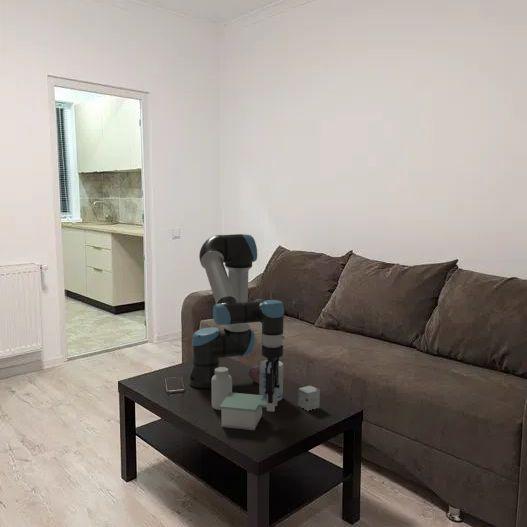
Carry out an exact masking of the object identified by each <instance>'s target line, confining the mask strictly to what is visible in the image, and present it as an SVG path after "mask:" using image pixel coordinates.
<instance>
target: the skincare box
mask: <svg viewBox="0 0 527 527" xmlns="http://www.w3.org/2000/svg"><path fill="white" fill-rule="evenodd" d="M320 395H321V390H320V389H319V388H317V387H315V386H312V385H307V386H303V387H299V388H298V401H297V402H298V403H297V406H298V407H299V406H300V407H299V408H301V409H303V408H304V409H303V410H304V411H306V410H307V411H306V412H310V411H309V410H311V411H312V409H314V410H317V409H320V402H321V401H320V399H321V396H320ZM316 408H317V409H316Z"/></svg>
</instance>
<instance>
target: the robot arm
mask: <svg viewBox="0 0 527 527" xmlns="http://www.w3.org/2000/svg"><path fill="white" fill-rule="evenodd" d="M198 254H199V257H198V258H199V262H200V265H201V267H202V268H203V269H204V271H205V272H206V276H207V280H208V282H209V285H210V289H211V292H212V295H213V299H214V301H215V304H214V305H213V308H212V316H213V318H212V319H213V321H214V323H215V325H218V326H223V330H220V329H219V328H218V327H215V326H213V327H211V326H210V327H209V326H208V327H204V328H200V329H197V330H196V331H194V333H193V334H192V341H191V344H192V367H191V370H190V374H189V377H188V385H190V386H191V387H194V388H199V389H212V384H211V380H212V377H213V376H214V375H215V369H216V368H218V367H221V364H220V362H221V360H220V359H223V358H224V359H225V358H234V357H235V358H236V357H244V356H249V355H251V354H252V352H253V350H254V348H255V342H256V337H255V331H254V329H252V327H251V325H250V324H251V323H261V344H262V345H261V355H262V356H263V358H266V360H267V361H266V368H265V373H266V392H265V394H267V407H266V412H272V413H273V412H275V410H276V409H275V408H276V407H277V406H278V401H277V388H276V387H278V388H279V387H280V385H278V383H279V382H278V379H279V361H280V358H281V357H283V355H284V345H283V344H284V339H286V336H285V335H284V321H285V320H284V319H285V317H284V314H285V310H284V308H285V307H284V302H282V301H281V300H277V299H267V300H265V299H262V298H257V299H254V300H252V301H249V302H248V299H249V296H248V295H249V270H251V268H253V263H254V262H256V261H257V259H258V248H257V242H256V240H255V238H254V237H253V236H252V235H251V234H243V233H238V234H216V235H213V236H211V237H209V238H207V239H206V240H205V242H204V243H203V244H202V246H201V248H200V251H199V253H198ZM226 268H227V270H228V271H227V270H226ZM227 273H228V274H227ZM274 388H275V393H274Z"/></svg>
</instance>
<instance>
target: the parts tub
mask: <svg viewBox="0 0 527 527" xmlns="http://www.w3.org/2000/svg"><path fill="white" fill-rule="evenodd" d="M220 411H221V415H220V416H221V419H220V420H221V421H220V422H221V427H222V428H229V429H230V428H231V429H239V430H248V431H256V429H257V427H258V425H259V423H260V421H261V418H262V416H263V407H258V409H257V410H256V412H251V411H241V410H230V409H221V410H220Z"/></svg>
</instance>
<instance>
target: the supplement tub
mask: <svg viewBox="0 0 527 527" xmlns="http://www.w3.org/2000/svg"><path fill="white" fill-rule="evenodd" d="M267 360H268V359H264V360H262V361H260V363H259V367H260V374H259V384H258V389H259V390H258V395H264V398H263V400H264V401H267V394H265V392H266V373H265V368H266V361H267ZM278 382H279V383H278V385H280V387H279V388H278V387H276V388H277V402H280V401H281V400H282V399H283V396H284V395H283V394H284V391H283V390H284V362H282V361H280V360H279V379H278Z"/></svg>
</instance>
